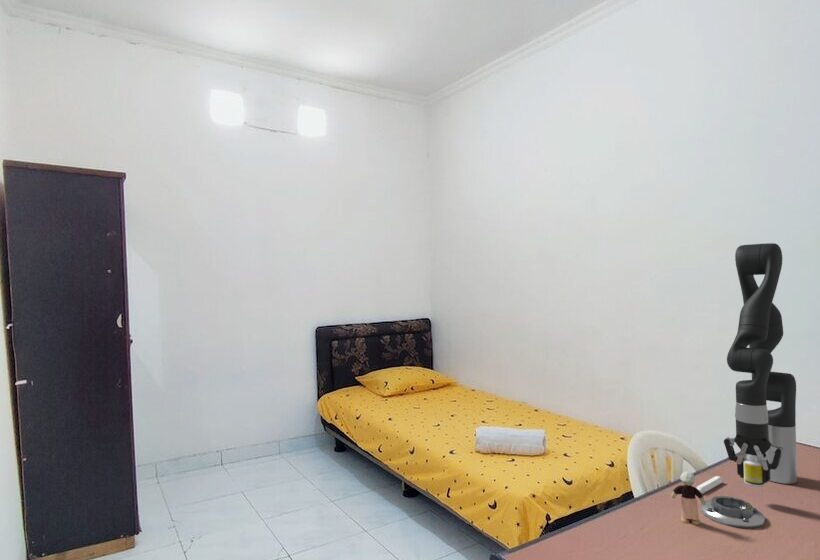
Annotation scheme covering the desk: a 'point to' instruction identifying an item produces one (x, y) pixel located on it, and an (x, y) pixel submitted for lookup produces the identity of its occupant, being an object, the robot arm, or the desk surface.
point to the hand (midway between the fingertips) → (753, 479)
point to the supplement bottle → (753, 471)
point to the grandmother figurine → (688, 498)
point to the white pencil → (709, 484)
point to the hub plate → (732, 521)
